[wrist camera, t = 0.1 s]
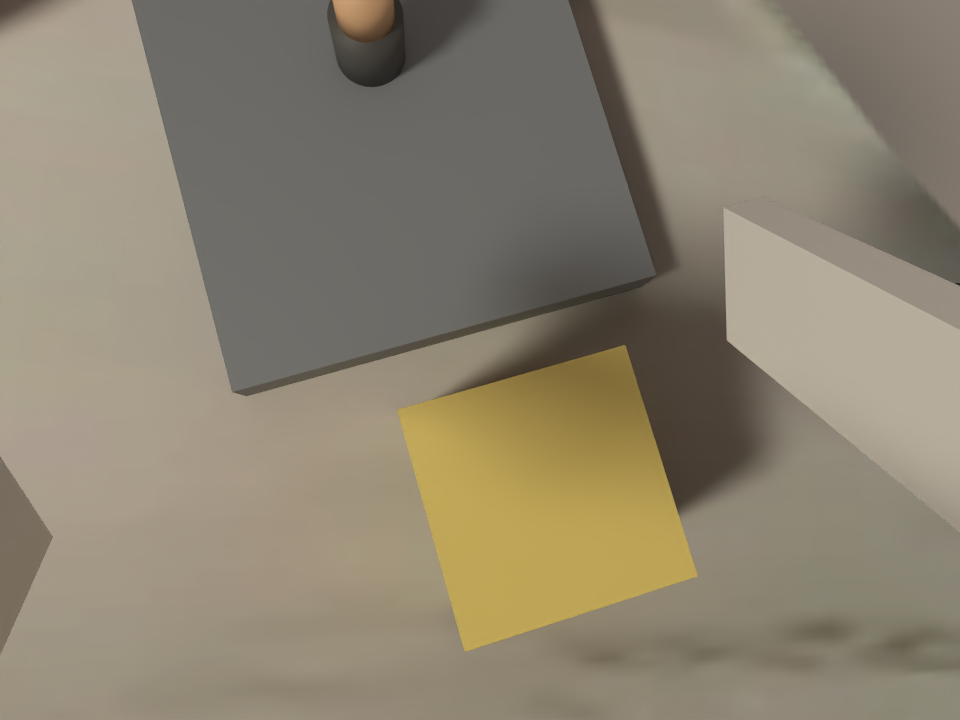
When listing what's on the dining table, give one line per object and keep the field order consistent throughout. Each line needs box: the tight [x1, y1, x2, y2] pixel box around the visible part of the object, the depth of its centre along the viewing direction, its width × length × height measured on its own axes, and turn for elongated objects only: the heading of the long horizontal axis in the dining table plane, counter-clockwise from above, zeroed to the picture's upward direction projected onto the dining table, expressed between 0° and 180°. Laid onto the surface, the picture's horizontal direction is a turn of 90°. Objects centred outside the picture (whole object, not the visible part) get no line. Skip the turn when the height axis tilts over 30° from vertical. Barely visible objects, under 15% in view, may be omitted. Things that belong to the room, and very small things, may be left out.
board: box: [132, 0, 656, 396], centre depth 26 cm, size 18×16×6 cm
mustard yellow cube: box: [398, 345, 698, 652], centre depth 24 cm, size 7×7×7 cm
